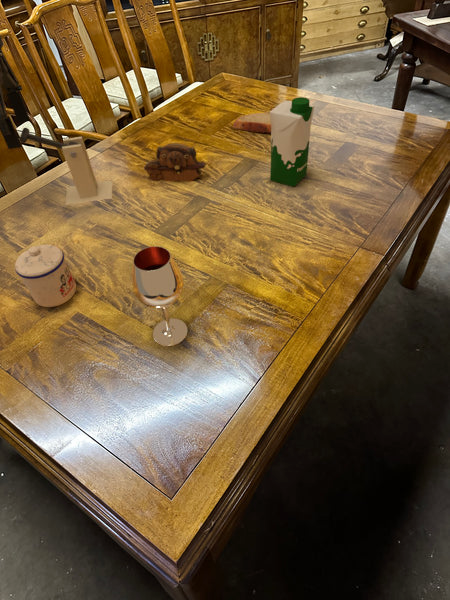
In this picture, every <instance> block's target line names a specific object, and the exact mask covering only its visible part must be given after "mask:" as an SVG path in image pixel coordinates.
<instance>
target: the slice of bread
mask: <svg viewBox="0 0 450 600" xmlns="http://www.w3.org/2000/svg"><path fill="white" fill-rule="evenodd" d="M232 126H233V127H232V128H233V129H234V130H239V131H244V132H249V133H251V132H253V133H261V134H271V119H270V111H266V112H256V113H255V112H254V113H249V114H245V115H242V116H241V115H240V116H239V117H237V118H236V119H235V120H234V121H233V125H232ZM257 131H258V132H257ZM265 132H266V133H265Z"/></svg>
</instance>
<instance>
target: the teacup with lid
mask: <svg viewBox="0 0 450 600" xmlns="http://www.w3.org/2000/svg"><path fill="white" fill-rule="evenodd" d="M14 271H15V273H16V274H17V276H19V277H20V278H21V281H22V282H23V284H24V286H25V287H26V289H27V291H28V292H29V294H30V297H32V299H33V301H34V303H36V304H37V305H38V306H40V307H43V308H55V307H58V306H61V305H63V304H65V303H67V302H68V301H69V300H71V299H72V297H73V296H74V295H75V293H76V291H77V283H76V281H75V279H74V276H73V274H72V272H71V270H70V268H69V265H68V263H67V261H66V259H65V254H64V251H63V250H62V249H61V248H59V247H58V246H56V245H53V244H38V245H33V246H30V247H29V249H28V248H27V249H26V250H25V251H23V252H21V254H20V255H19V256H18V257H17V259H16V261H15V263H14Z"/></svg>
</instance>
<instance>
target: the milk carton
mask: <svg viewBox="0 0 450 600" xmlns="http://www.w3.org/2000/svg"><path fill="white" fill-rule="evenodd" d="M310 102H311V101H310V99H309V98H307V97H305V96H304V97H303V96H302V97H301V96H299V97H294V98H293V99H292V100H286V99H284V100H283V101H282V102H280V103H279V104H278V105H276V106H275V107H274V108H273V109H271V110H270V111H269V112H270V119H271V133H270V140H271V141H270V172H269V173H270V176H269V177H270V178H269V180H270V181H272V182H275V183H278V184H282V185H285V186H289V187H292V188H295V187H296V186H297V185H298V184H299V183H300V182H301V181H302V180H303V179H304V178H305V177H306V176H307V174H308V172H307V171H308V163H309V162H308V161H309V150H310V138H311V127H312V122H313V116H314V111H315V105H313V104H310Z"/></svg>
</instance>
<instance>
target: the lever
mask: <svg viewBox="0 0 450 600" xmlns="http://www.w3.org/2000/svg"><path fill="white" fill-rule="evenodd" d="M19 140H20V142H21V144H25V143H27V141H28V140H29V141H33V142H36V143H40V144H43V145H47V146H51V147H54V148H58V149H61V150H62V147H64V146H71V145H78V144H77V143H74V142H69V145H67V144H64V142H60V141H57V140H53V139H49V138H47V137H44V136H43V137H42V136H39V135H36V134H33V133H30V129H29V128H28V127H23V128H22V131H21V133H20V136H19Z"/></svg>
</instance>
